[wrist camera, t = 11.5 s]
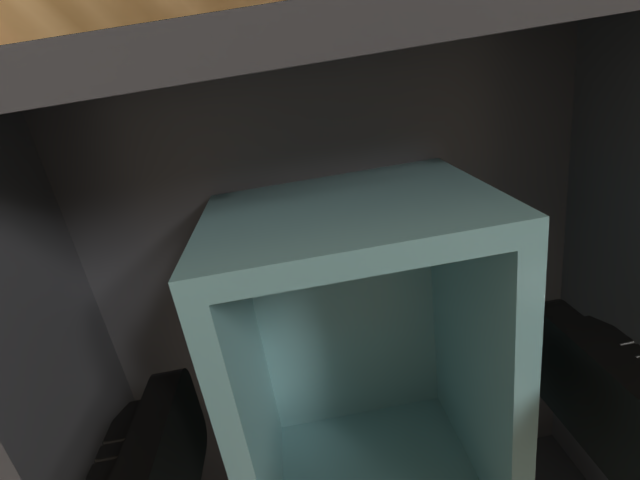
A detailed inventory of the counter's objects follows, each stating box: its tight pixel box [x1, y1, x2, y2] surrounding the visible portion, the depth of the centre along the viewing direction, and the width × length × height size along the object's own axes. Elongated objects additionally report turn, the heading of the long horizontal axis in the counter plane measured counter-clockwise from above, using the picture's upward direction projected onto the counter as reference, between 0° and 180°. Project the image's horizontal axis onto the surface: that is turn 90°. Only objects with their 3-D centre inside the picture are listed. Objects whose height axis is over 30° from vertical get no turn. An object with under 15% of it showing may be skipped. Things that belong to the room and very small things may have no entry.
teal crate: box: [168, 158, 550, 480], centre depth 11 cm, size 8×6×5 cm
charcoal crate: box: [0, 0, 640, 480], centre depth 11 cm, size 15×15×6 cm
